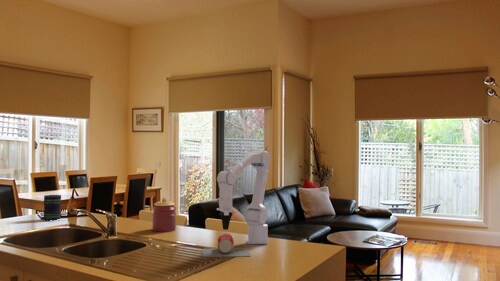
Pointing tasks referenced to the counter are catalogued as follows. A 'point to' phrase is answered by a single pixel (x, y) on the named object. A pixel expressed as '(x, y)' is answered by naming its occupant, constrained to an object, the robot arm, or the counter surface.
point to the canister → (164, 216)
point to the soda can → (225, 243)
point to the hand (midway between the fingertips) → (225, 229)
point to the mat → (233, 253)
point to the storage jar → (52, 207)
